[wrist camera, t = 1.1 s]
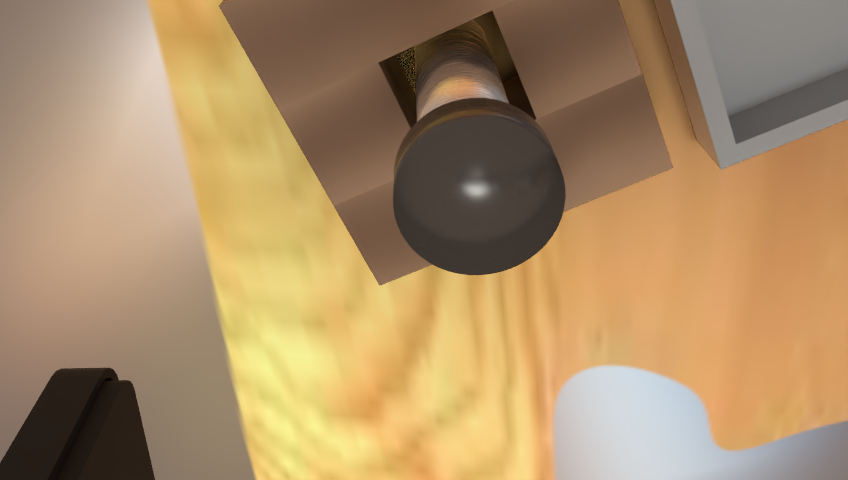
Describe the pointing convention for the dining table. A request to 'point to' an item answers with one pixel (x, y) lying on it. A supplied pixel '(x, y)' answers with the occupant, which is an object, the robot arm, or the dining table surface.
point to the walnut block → (396, 102)
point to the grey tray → (758, 70)
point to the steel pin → (473, 164)
